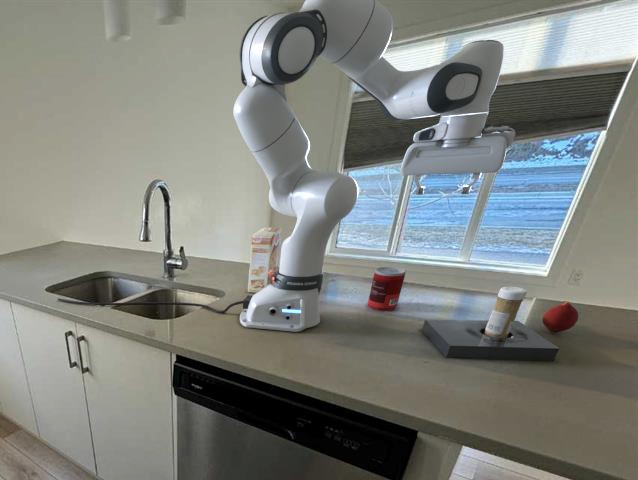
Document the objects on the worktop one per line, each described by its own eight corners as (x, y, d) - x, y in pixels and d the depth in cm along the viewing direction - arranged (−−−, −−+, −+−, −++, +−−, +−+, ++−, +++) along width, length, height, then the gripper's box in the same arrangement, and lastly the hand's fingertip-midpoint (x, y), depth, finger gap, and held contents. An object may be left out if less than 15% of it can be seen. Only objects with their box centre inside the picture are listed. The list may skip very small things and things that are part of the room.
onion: (564, 329, 100) (579, 298, 96) (574, 338, 95) (591, 306, 91) (533, 327, 102) (547, 296, 98) (542, 336, 97) (556, 304, 93)
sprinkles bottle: (509, 347, 94) (533, 291, 88) (490, 348, 94) (513, 293, 88) (493, 339, 98) (514, 285, 92) (474, 341, 98) (495, 287, 91)
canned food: (397, 303, 123) (406, 267, 117) (395, 312, 117) (405, 274, 112) (368, 301, 127) (376, 265, 121) (365, 309, 121) (374, 272, 116)
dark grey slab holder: (446, 357, 93) (450, 345, 91) (421, 330, 106) (424, 319, 104) (553, 361, 87) (559, 348, 86) (513, 331, 101) (518, 320, 99)
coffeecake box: (267, 294, 140) (272, 235, 130) (246, 292, 144) (250, 235, 134) (277, 282, 151) (282, 227, 141) (257, 280, 154) (262, 227, 145)
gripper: (518, 124, 90) (496, 192, 97) (411, 133, 103) (398, 193, 109) (518, 125, 86) (494, 195, 93) (406, 134, 99) (393, 196, 106)
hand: (441, 194), depth 102 cm, fingers open, 8 cm apart
